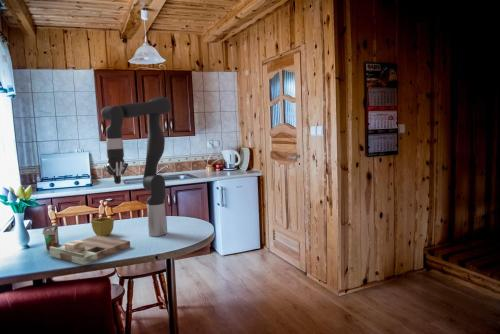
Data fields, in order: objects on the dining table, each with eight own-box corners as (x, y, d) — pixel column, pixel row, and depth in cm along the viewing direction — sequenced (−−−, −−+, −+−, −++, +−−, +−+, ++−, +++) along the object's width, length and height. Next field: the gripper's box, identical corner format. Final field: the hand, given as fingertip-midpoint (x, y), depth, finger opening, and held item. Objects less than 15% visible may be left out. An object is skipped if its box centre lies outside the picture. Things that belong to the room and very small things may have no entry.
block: (77, 248, 174) (76, 239, 173) (85, 249, 171) (84, 241, 170) (65, 251, 169) (64, 243, 168) (73, 253, 166) (72, 245, 165)
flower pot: (105, 232, 210) (104, 216, 209) (115, 234, 206) (114, 218, 205) (91, 236, 203) (90, 220, 202) (102, 238, 198) (100, 222, 197)
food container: (46, 244, 190) (44, 226, 189) (59, 243, 192) (57, 224, 191) (41, 252, 179) (39, 232, 178) (56, 250, 181) (54, 230, 180)
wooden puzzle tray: (98, 240, 195) (97, 232, 194) (130, 247, 182) (129, 238, 182) (50, 256, 172) (49, 247, 172) (83, 264, 160) (82, 254, 159)
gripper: (120, 147, 184) (123, 181, 186) (98, 148, 173) (101, 185, 175) (131, 147, 180) (133, 181, 182) (108, 149, 169) (111, 186, 171)
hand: (117, 183), depth 179 cm, fingers closed
